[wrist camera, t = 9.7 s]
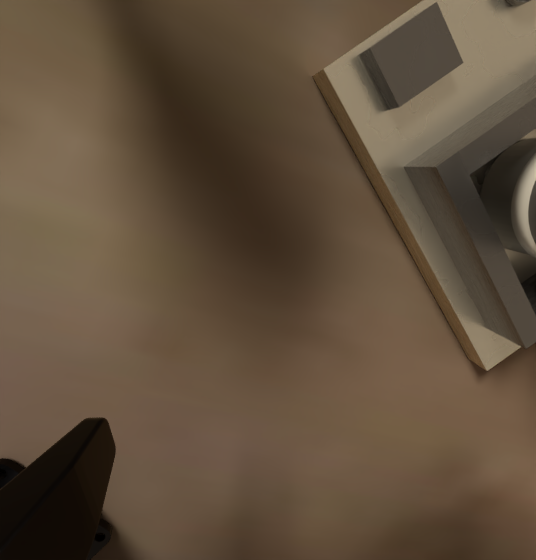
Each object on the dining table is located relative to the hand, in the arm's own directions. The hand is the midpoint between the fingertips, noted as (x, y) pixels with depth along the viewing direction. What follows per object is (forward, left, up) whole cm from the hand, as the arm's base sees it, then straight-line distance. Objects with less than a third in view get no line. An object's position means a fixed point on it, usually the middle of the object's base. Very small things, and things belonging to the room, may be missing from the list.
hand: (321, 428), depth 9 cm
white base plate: (+12, -4, -12) cm, 17 cm away
